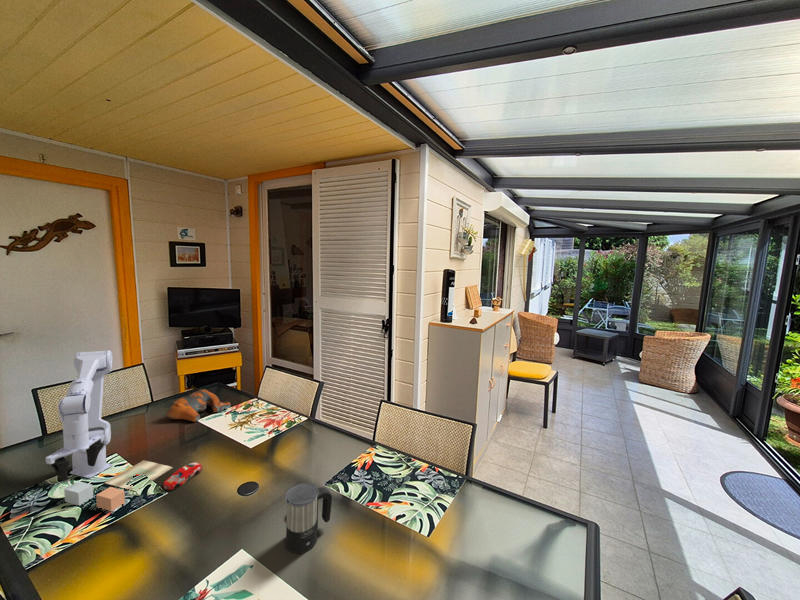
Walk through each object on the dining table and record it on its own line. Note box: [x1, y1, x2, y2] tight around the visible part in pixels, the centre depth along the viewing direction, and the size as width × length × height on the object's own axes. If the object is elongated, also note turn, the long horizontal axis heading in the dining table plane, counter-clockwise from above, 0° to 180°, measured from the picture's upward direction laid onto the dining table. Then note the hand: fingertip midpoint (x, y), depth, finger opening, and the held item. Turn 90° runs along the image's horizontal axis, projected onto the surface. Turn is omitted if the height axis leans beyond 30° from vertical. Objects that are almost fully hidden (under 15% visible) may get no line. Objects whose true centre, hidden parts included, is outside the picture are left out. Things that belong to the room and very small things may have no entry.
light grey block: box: [63, 481, 94, 506], centre depth 106 cm, size 6×4×4 cm, turn 77°
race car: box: [162, 461, 203, 491], centre depth 119 cm, size 13×5×4 cm, turn 161°
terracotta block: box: [96, 486, 126, 512], centre depth 104 cm, size 6×4×4 cm, turn 77°
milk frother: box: [284, 483, 333, 554], centre depth 99 cm, size 14×16×15 cm
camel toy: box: [165, 388, 231, 422], centre depth 168 cm, size 25×13×17 cm
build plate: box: [104, 459, 174, 492], centre depth 120 cm, size 14×14×1 cm
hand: (78, 472), depth 105 cm, fingers open, 7 cm apart
